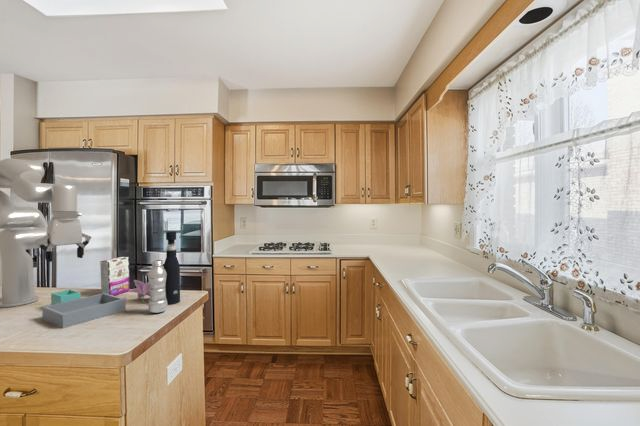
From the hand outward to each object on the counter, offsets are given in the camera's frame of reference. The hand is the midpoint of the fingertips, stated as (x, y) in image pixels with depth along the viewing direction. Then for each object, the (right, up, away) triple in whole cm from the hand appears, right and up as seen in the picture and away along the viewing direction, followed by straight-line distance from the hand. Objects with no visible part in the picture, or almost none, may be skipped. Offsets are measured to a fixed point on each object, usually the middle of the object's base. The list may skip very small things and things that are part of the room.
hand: (65, 259), depth 118 cm
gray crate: (+12, -20, -5) cm, 24 cm away
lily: (+24, -20, +12) cm, 34 cm away
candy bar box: (+5, -20, +22) cm, 30 cm away
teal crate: (-2, -20, +3) cm, 20 cm away
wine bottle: (+37, -20, +10) cm, 43 cm away
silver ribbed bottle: (+37, -20, -2) cm, 43 cm away
